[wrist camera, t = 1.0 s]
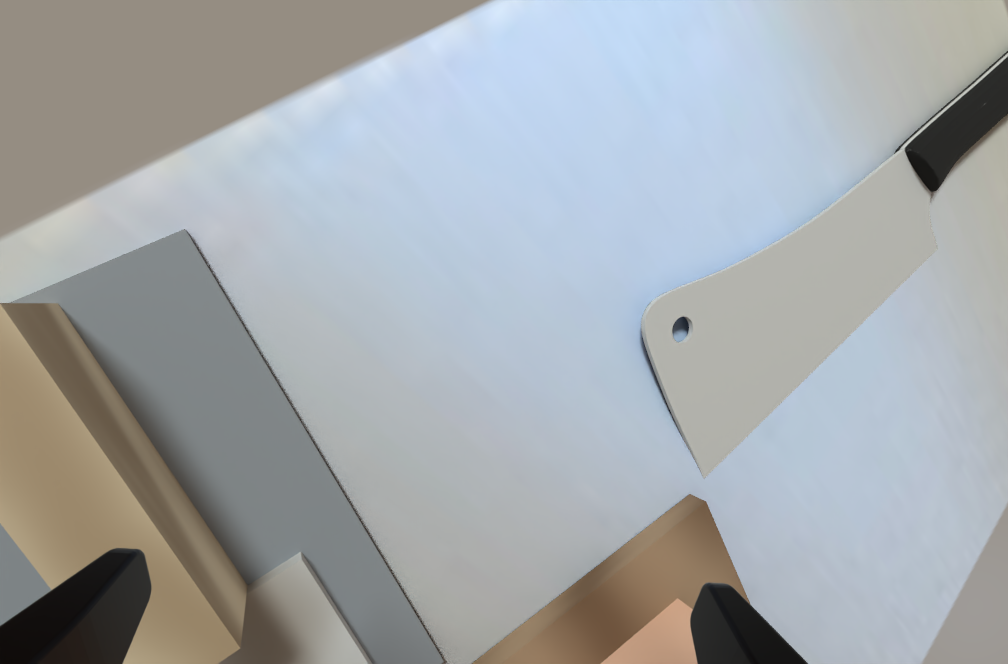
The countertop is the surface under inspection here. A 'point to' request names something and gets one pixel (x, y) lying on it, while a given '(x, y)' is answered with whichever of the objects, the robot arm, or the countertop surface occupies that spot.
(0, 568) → the mat
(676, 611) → the tile
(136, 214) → the countertop surface
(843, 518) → the countertop surface
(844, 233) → the kitchen cleaver
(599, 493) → the countertop surface
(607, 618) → the board
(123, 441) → the turner
